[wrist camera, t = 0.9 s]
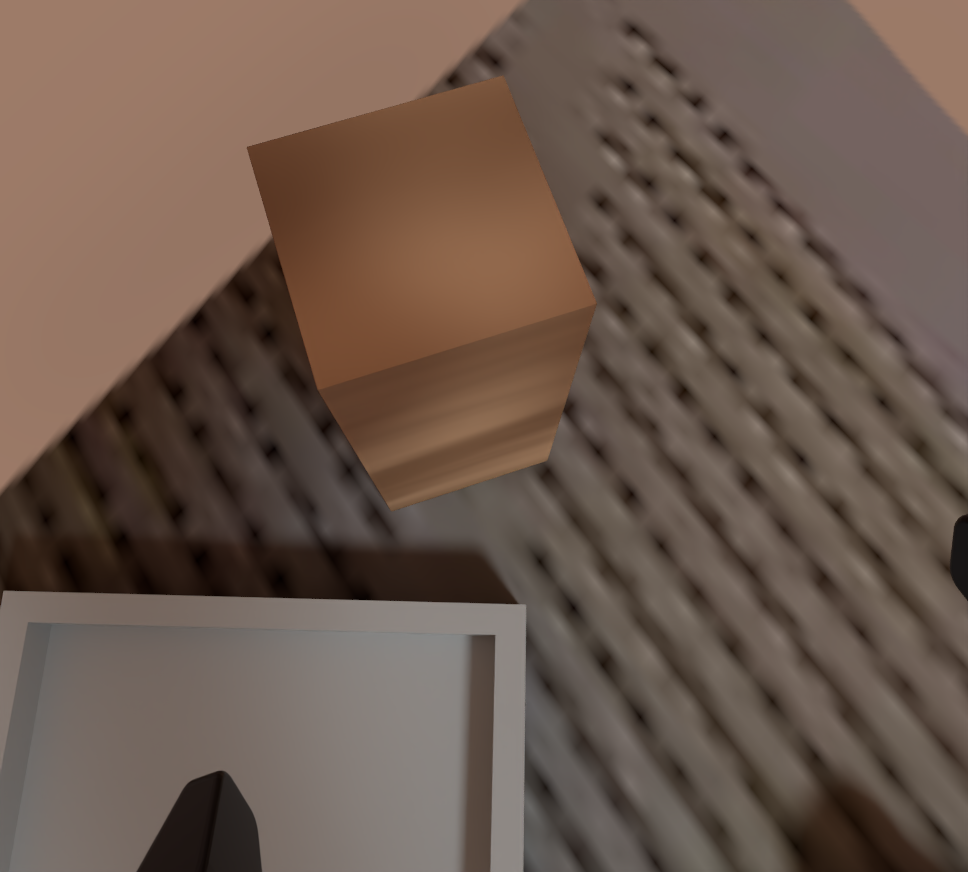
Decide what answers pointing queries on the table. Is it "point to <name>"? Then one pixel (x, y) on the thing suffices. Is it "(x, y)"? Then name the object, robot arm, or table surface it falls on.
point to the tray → (263, 728)
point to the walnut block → (430, 286)
